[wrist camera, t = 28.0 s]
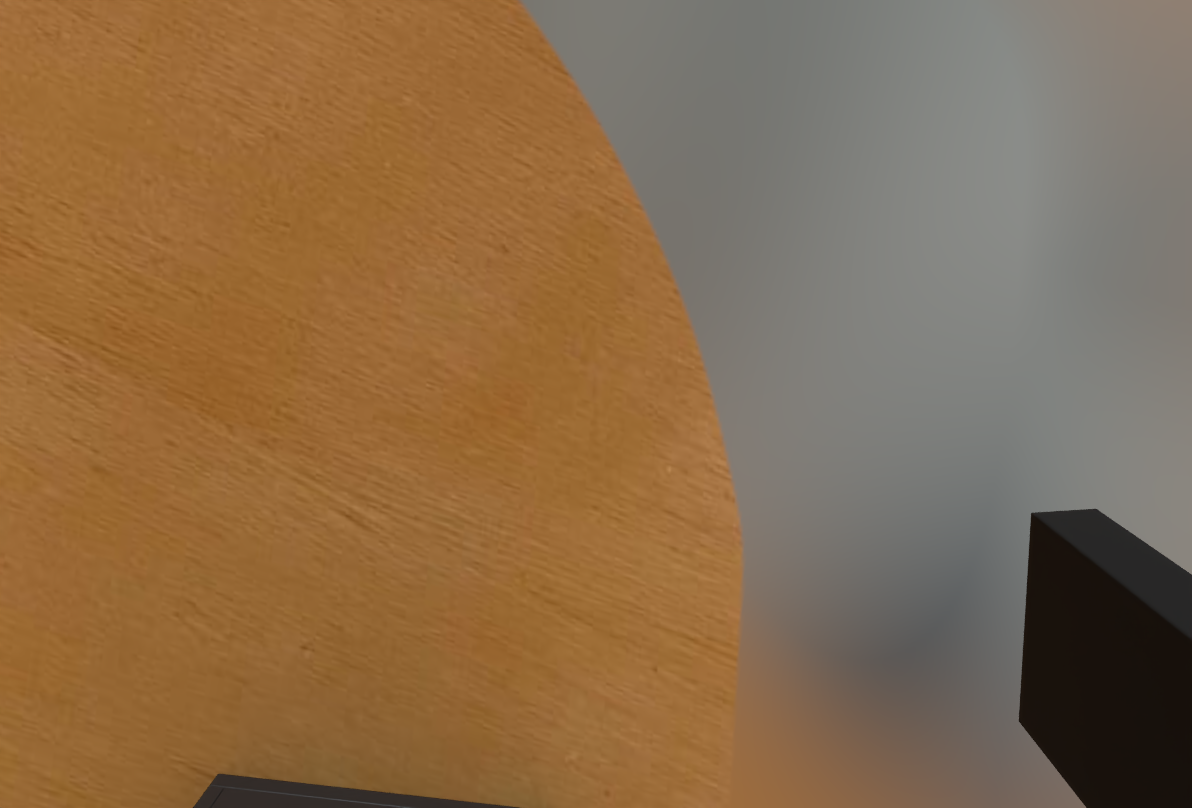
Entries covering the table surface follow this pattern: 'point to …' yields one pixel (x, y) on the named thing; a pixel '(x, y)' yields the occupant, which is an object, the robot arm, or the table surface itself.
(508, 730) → the table surface
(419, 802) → the tote
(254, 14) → the table surface
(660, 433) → the table surface
